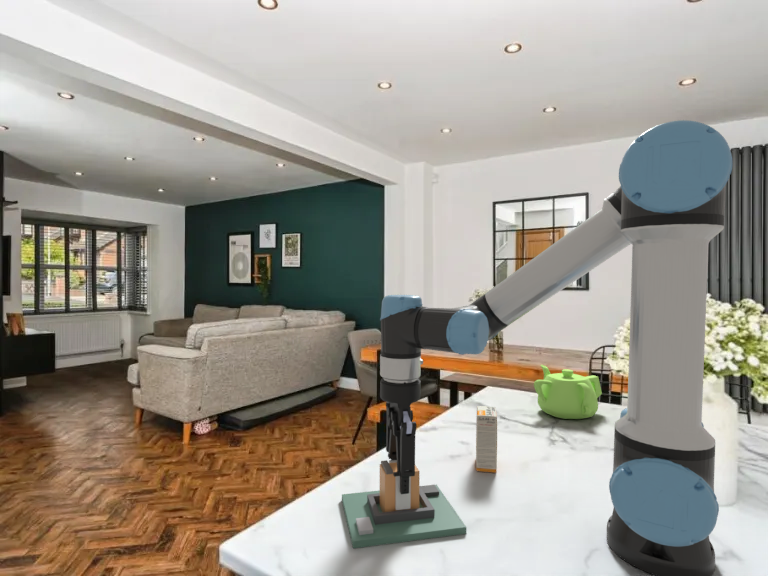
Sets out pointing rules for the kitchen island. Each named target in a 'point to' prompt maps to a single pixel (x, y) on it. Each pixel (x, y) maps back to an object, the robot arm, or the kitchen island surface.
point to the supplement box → (486, 439)
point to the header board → (400, 519)
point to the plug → (389, 487)
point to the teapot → (568, 394)
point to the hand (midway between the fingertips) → (399, 500)
